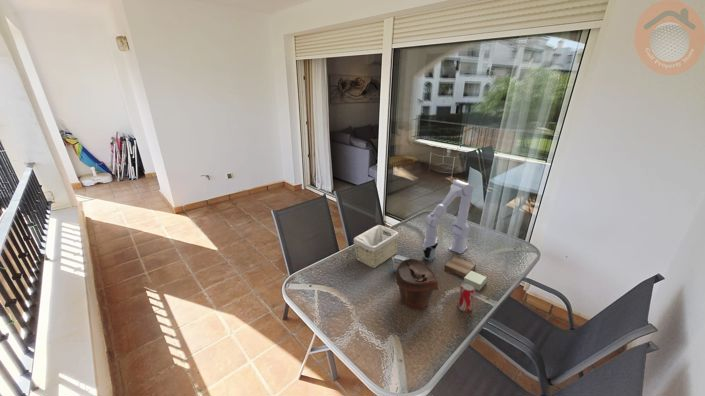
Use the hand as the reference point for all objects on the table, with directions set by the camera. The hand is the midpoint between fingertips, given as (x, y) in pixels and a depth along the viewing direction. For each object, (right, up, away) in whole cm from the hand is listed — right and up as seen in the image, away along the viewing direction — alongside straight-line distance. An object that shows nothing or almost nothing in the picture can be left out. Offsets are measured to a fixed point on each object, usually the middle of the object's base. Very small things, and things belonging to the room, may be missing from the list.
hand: (429, 255), depth 164 cm
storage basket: (-31, -1, +3) cm, 31 cm away
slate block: (0, -1, +1) cm, 1 cm away
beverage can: (+6, -16, -38) cm, 41 cm away
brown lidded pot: (-15, -15, -32) cm, 39 cm away
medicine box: (-18, -7, -11) cm, 22 cm away
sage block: (+17, -10, -22) cm, 29 cm away
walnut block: (+14, -6, -10) cm, 18 cm away
